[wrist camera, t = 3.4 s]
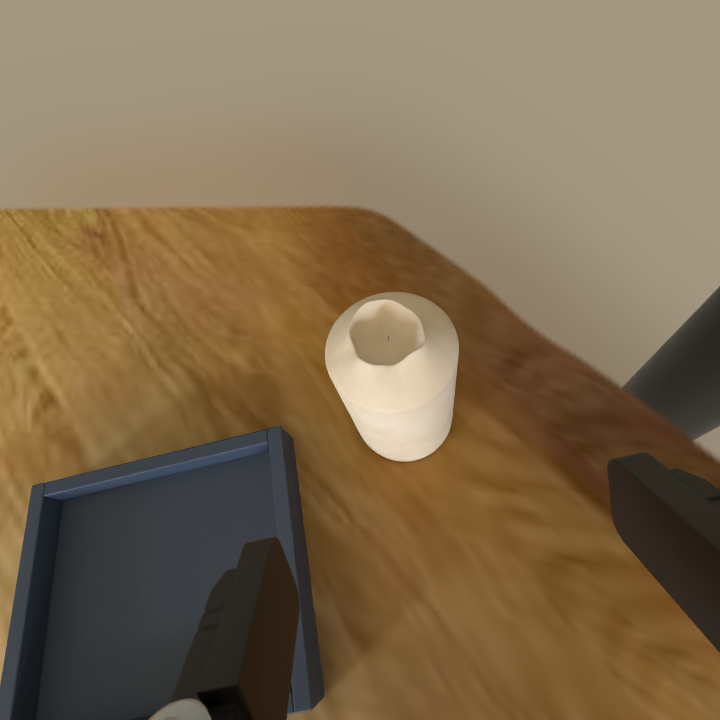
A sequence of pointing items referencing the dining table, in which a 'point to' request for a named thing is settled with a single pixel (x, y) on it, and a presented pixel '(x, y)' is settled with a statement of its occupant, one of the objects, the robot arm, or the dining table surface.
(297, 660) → the tray
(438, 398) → the candle
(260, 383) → the dining table surface
